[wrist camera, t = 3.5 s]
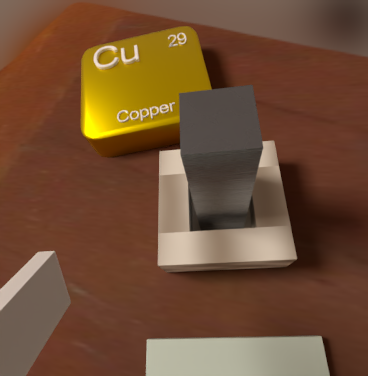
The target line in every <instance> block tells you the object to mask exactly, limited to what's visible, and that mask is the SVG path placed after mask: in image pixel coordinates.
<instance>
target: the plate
mask: <svg viewBox="0 0 368 376" xmlns="http://www.w3.org/2000/svg"><path fill="white" fill-rule="evenodd" d="M146 376H330V375H329V370H328V365H327V360H326V355H325V351H324V346H323V341H322V336H262V337H206V338H150V339H147V357H146Z"/></svg>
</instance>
